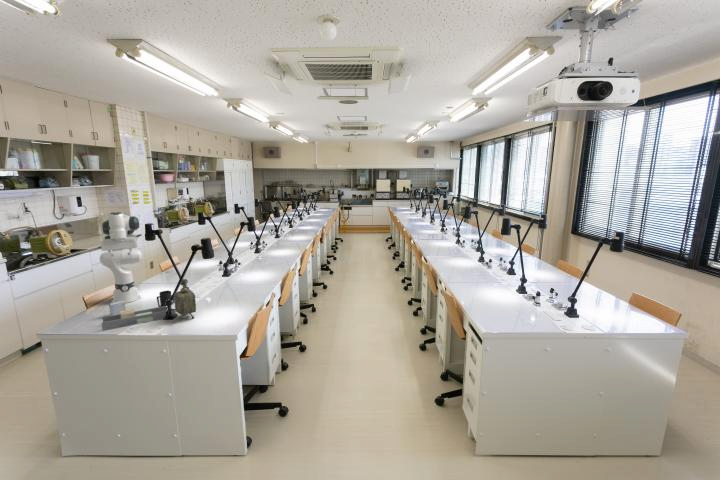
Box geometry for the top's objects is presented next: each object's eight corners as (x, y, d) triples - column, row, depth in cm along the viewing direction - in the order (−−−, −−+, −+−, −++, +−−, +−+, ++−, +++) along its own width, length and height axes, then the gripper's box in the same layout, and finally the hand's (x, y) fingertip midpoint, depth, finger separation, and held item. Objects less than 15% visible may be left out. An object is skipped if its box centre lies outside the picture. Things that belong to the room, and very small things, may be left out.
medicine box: (124, 312, 229) (122, 300, 227) (126, 314, 226) (124, 302, 224) (110, 315, 223) (108, 303, 221) (112, 317, 220) (110, 305, 218)
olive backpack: (196, 318, 220) (194, 282, 215) (182, 322, 213) (178, 285, 209) (189, 312, 230) (186, 277, 226) (175, 316, 224) (172, 280, 219)
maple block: (121, 318, 212) (120, 311, 211) (134, 315, 216) (133, 309, 215) (121, 320, 208) (120, 314, 207) (134, 318, 212) (134, 311, 211)
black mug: (167, 305, 242) (166, 290, 240) (174, 307, 239) (173, 291, 237) (154, 310, 232) (152, 294, 230) (161, 312, 230) (160, 295, 228)
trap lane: (103, 324, 209) (102, 317, 208) (167, 312, 229) (166, 305, 228) (102, 330, 201) (101, 322, 200) (168, 317, 221) (168, 310, 220)
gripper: (136, 234, 234) (138, 253, 235) (100, 237, 222) (102, 257, 223) (136, 234, 229) (139, 254, 230) (99, 237, 217) (102, 258, 218)
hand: (120, 256), depth 226 cm, fingers open, 8 cm apart
